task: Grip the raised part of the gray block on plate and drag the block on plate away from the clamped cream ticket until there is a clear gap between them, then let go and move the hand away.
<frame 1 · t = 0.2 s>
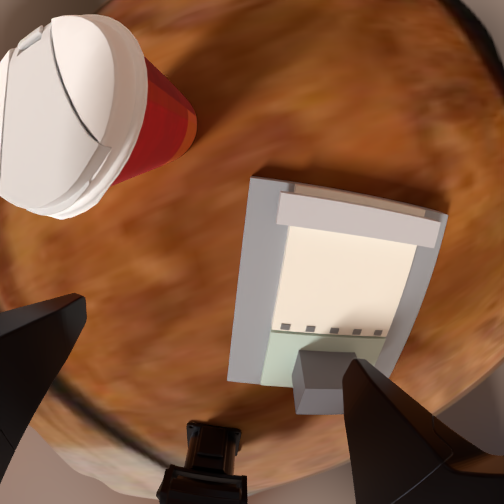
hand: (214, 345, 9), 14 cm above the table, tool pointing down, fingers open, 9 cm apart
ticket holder: (333, 299, 24), on the table
gray block on plate: (327, 379, 21), point 4 cm above the table, slide at 0.0 cm
paper cup: (162, 128, 20), on the table
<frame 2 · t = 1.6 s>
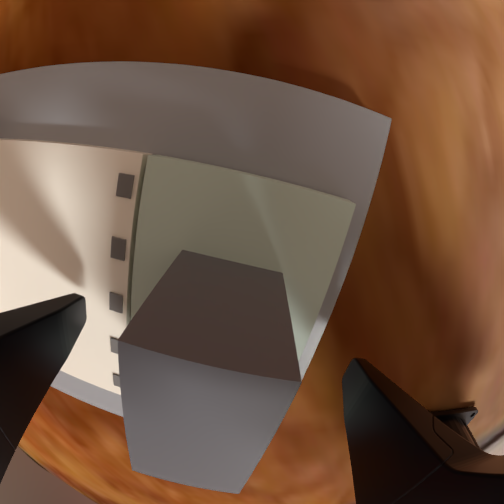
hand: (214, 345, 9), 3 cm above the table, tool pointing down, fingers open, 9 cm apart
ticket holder: (106, 266, 11), on the table
gray block on plate: (208, 367, 8), point 4 cm above the table, slide at 0.0 cm
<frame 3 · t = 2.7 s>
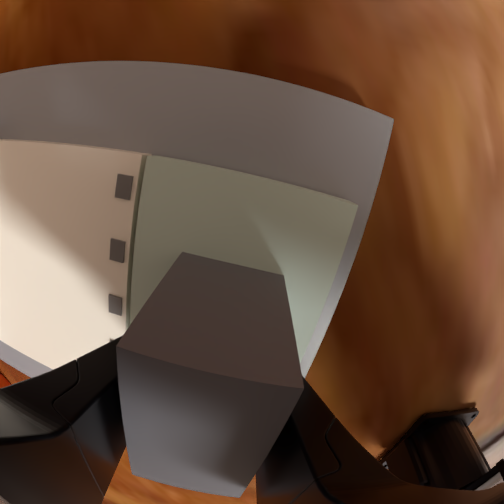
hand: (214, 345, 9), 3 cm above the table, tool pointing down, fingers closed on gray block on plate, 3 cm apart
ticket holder: (105, 267, 11), on the table
gray block on plate: (208, 371, 7), point 4 cm above the table, slide at 0.0 cm, touching gripper
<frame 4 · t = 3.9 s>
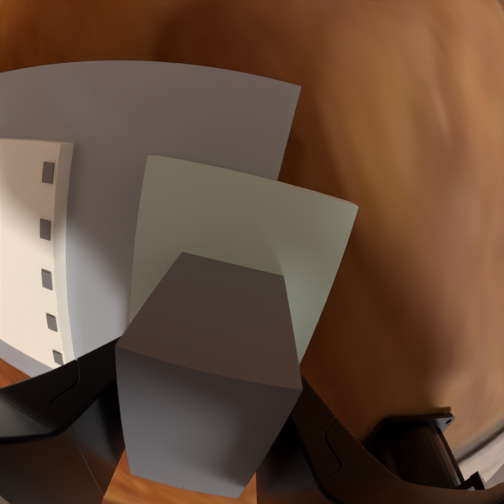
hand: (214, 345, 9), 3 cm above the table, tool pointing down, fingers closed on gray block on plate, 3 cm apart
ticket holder: (51, 250, 11), on the table
gray block on plate: (208, 371, 7), point 4 cm above the table, slide at 3.1 cm, touching gripper
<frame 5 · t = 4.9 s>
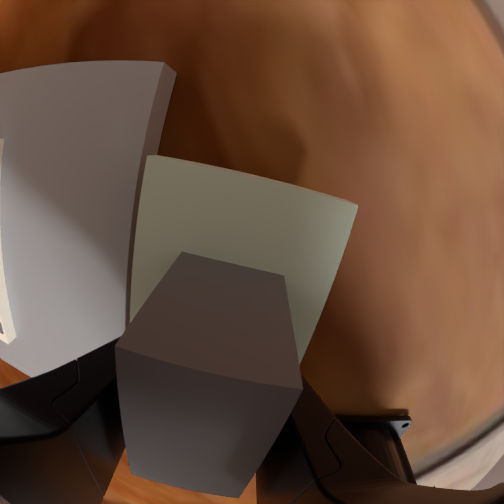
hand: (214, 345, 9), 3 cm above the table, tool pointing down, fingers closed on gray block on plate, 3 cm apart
gray block on plate: (208, 371, 7), point 4 cm above the table, slide at 7.3 cm, touching gripper
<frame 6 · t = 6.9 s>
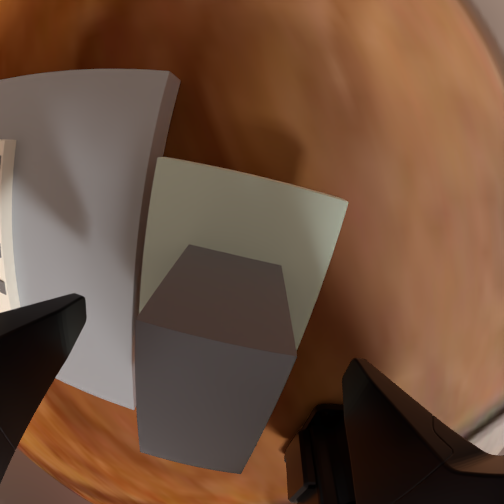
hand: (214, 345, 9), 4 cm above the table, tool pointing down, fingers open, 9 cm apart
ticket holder: (8, 229, 12), on the table
gray block on plate: (213, 353, 8), point 4 cm above the table, slide at 7.4 cm
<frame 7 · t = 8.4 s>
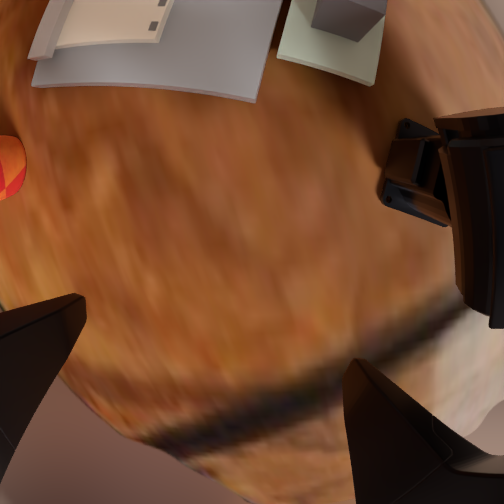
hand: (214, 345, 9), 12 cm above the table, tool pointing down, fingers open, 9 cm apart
paper cup: (10, 165, 18), on the table
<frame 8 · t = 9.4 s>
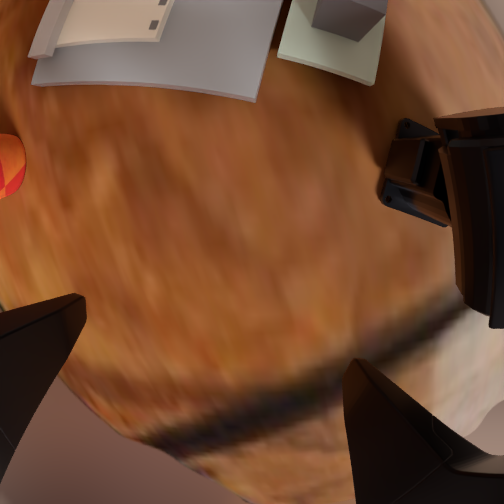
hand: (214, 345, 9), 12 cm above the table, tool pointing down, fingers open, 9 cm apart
paper cup: (10, 164, 18), on the table
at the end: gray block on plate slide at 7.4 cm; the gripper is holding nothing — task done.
